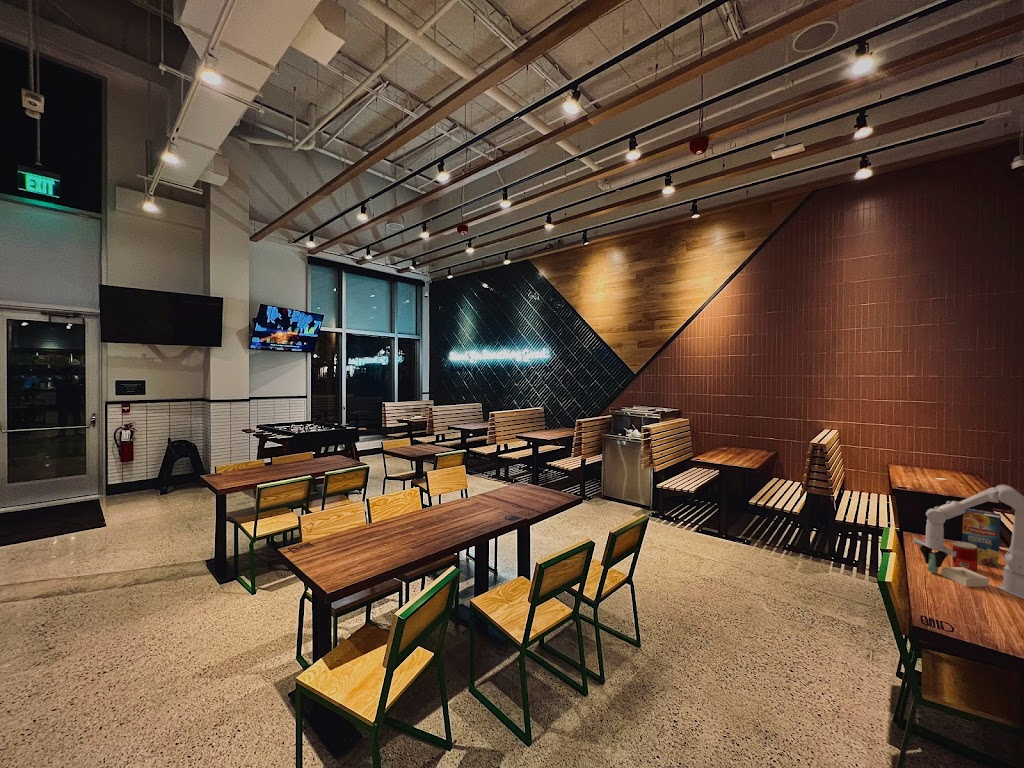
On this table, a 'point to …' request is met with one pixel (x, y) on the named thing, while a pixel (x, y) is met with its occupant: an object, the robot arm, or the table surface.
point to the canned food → (965, 555)
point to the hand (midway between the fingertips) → (933, 565)
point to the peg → (932, 562)
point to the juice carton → (982, 534)
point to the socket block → (964, 576)
